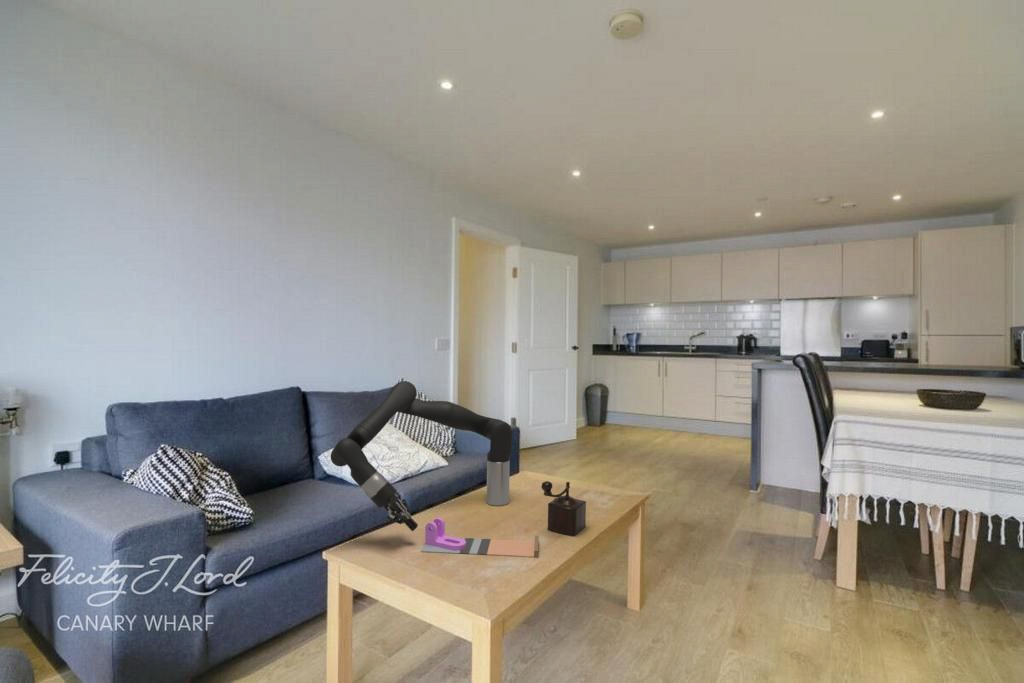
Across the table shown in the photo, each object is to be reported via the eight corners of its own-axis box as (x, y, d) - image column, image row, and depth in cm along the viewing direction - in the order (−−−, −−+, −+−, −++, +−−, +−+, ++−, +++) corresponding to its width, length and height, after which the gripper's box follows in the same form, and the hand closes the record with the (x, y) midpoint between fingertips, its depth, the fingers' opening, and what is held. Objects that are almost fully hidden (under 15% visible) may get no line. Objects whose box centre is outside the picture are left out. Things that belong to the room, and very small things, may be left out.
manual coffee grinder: (558, 520, 175) (559, 471, 175) (586, 526, 169) (587, 476, 169) (538, 534, 162) (538, 481, 162) (567, 542, 156) (568, 487, 156)
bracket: (425, 543, 153) (425, 522, 152) (435, 537, 158) (435, 516, 158) (460, 551, 147) (460, 529, 147) (469, 544, 152) (469, 523, 152)
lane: (429, 537, 158) (429, 531, 158) (538, 542, 156) (538, 536, 156) (421, 551, 147) (421, 545, 147) (537, 557, 145) (538, 550, 145)
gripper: (377, 490, 161) (413, 528, 160) (362, 504, 147) (401, 545, 147) (393, 475, 160) (428, 513, 159) (379, 487, 147) (418, 528, 146)
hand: (415, 528), depth 153 cm, fingers closed
